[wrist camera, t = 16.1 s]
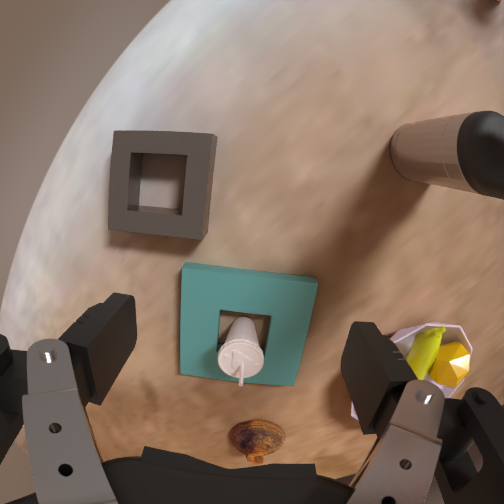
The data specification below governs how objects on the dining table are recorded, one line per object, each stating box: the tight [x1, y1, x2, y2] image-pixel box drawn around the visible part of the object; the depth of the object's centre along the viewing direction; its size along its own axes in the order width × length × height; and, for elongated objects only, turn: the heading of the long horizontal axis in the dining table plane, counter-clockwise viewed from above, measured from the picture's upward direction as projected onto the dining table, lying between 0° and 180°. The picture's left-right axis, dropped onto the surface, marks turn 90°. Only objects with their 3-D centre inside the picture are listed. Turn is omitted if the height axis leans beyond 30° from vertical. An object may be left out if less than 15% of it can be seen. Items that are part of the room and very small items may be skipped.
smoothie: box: [218, 317, 264, 386], centre depth 42 cm, size 6×6×14 cm
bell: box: [230, 420, 285, 464], centre depth 54 cm, size 12×12×7 cm
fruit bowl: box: [351, 322, 473, 421], centre depth 46 cm, size 28×27×11 cm
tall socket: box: [108, 131, 217, 240], centre depth 40 cm, size 14×14×4 cm
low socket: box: [180, 262, 318, 386], centre depth 48 cm, size 20×20×2 cm
